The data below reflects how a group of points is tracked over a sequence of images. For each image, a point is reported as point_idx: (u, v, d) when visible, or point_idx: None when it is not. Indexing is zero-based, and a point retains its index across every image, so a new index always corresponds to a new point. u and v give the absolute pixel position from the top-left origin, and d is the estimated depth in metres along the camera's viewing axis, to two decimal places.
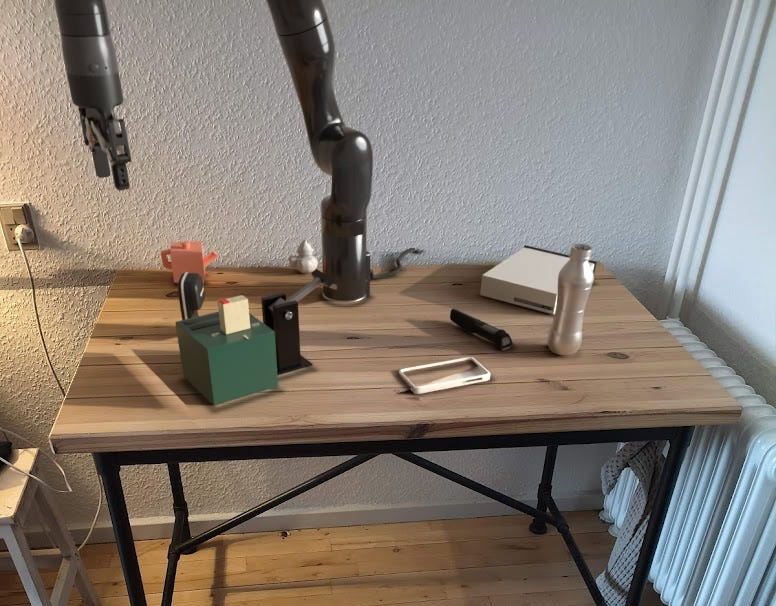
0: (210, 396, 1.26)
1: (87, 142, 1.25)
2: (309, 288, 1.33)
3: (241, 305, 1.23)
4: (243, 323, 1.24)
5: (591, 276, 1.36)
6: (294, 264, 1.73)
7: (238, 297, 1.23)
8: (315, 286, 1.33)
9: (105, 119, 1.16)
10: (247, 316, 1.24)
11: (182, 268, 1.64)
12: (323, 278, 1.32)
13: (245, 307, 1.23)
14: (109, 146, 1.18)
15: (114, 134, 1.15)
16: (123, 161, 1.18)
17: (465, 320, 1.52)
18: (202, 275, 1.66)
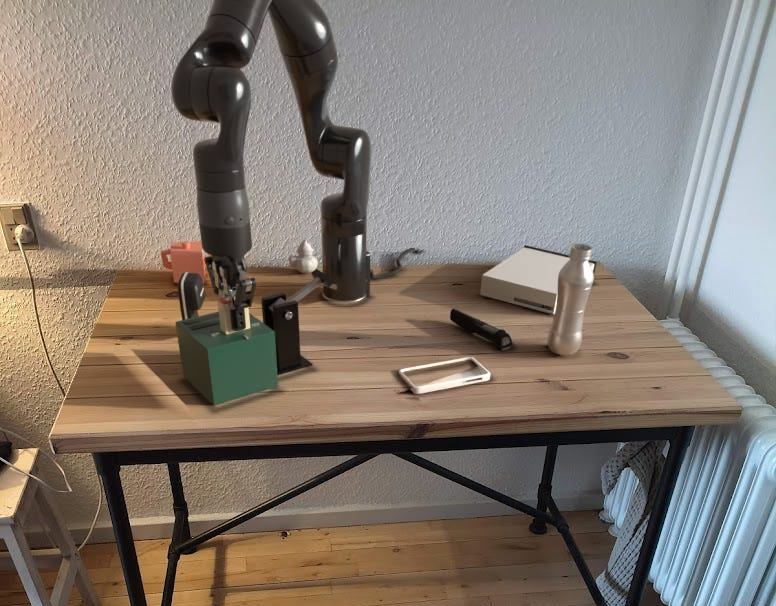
0: (210, 396, 1.26)
1: (217, 291, 1.23)
2: (309, 288, 1.33)
3: None
4: None
5: (591, 276, 1.36)
6: (294, 264, 1.73)
7: None
8: (315, 286, 1.33)
9: (236, 267, 1.15)
10: (247, 316, 1.24)
11: (182, 268, 1.64)
12: (323, 278, 1.32)
13: None
14: (233, 294, 1.19)
15: (244, 292, 1.16)
16: (244, 307, 1.20)
17: (465, 320, 1.52)
18: (202, 275, 1.66)
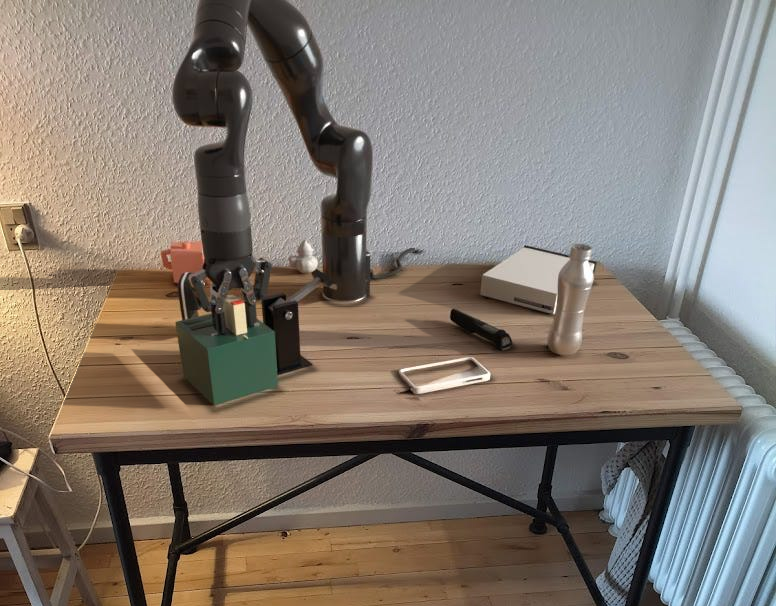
0: (210, 396, 1.26)
1: (210, 307, 1.19)
2: (309, 288, 1.33)
3: None
4: None
5: (591, 276, 1.36)
6: (294, 264, 1.73)
7: None
8: (315, 286, 1.33)
9: (254, 258, 1.20)
10: None
11: (182, 268, 1.64)
12: (323, 278, 1.32)
13: None
14: None
15: None
16: None
17: (465, 320, 1.52)
18: None
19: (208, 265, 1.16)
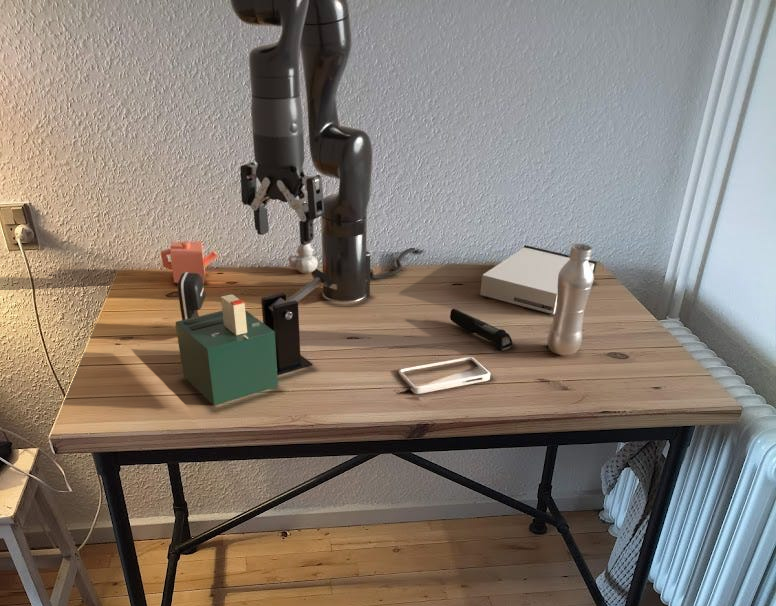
0: (210, 396, 1.26)
1: (247, 201, 1.23)
2: (309, 288, 1.33)
3: None
4: None
5: (591, 276, 1.36)
6: (294, 264, 1.73)
7: (226, 297, 1.23)
8: (315, 286, 1.33)
9: (299, 177, 1.16)
10: None
11: (182, 268, 1.64)
12: (323, 278, 1.32)
13: None
14: (299, 203, 1.18)
15: (315, 191, 1.16)
16: (319, 216, 1.19)
17: (465, 320, 1.52)
18: (202, 275, 1.66)
19: (257, 166, 1.18)
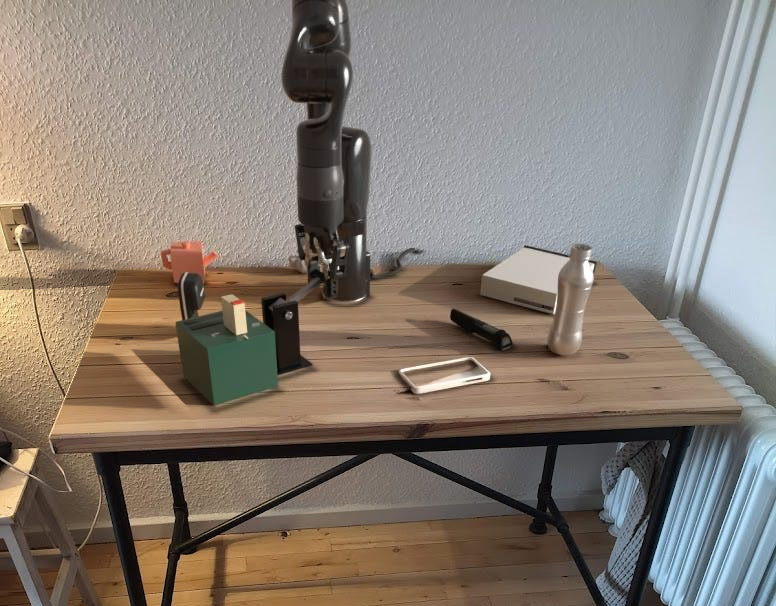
0: (210, 396, 1.26)
1: (302, 257, 1.35)
2: (309, 288, 1.33)
3: None
4: None
5: (591, 276, 1.36)
6: (294, 264, 1.73)
7: (226, 297, 1.23)
8: (315, 286, 1.33)
9: (330, 237, 1.26)
10: None
11: (182, 268, 1.64)
12: (323, 278, 1.32)
13: None
14: (327, 262, 1.29)
15: (338, 257, 1.26)
16: (339, 276, 1.29)
17: (465, 320, 1.52)
18: (202, 275, 1.66)
19: None
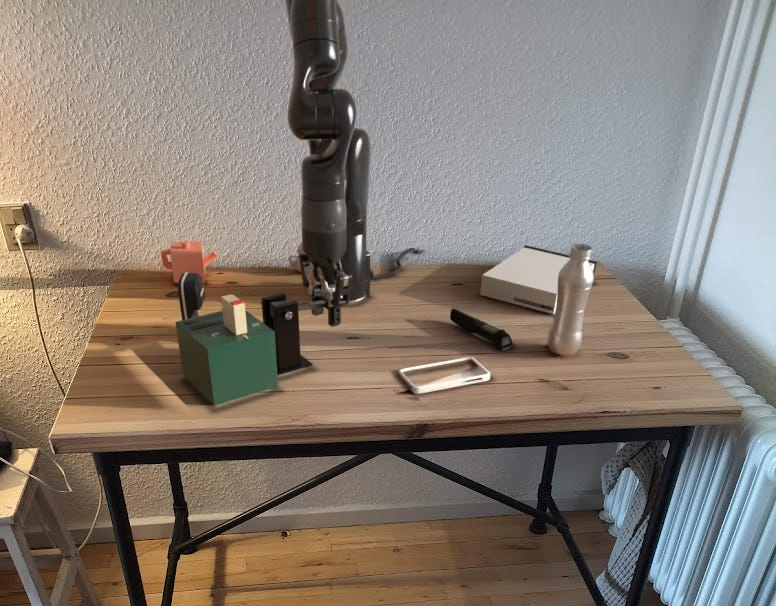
0: (210, 396, 1.26)
1: (306, 285, 1.38)
2: (313, 305, 1.35)
3: None
4: None
5: (591, 276, 1.36)
6: (294, 264, 1.73)
7: (226, 297, 1.23)
8: (318, 306, 1.36)
9: (334, 267, 1.29)
10: None
11: (182, 268, 1.64)
12: None
13: None
14: (331, 291, 1.32)
15: (342, 287, 1.29)
16: (342, 305, 1.32)
17: (465, 320, 1.52)
18: (202, 275, 1.66)
19: None
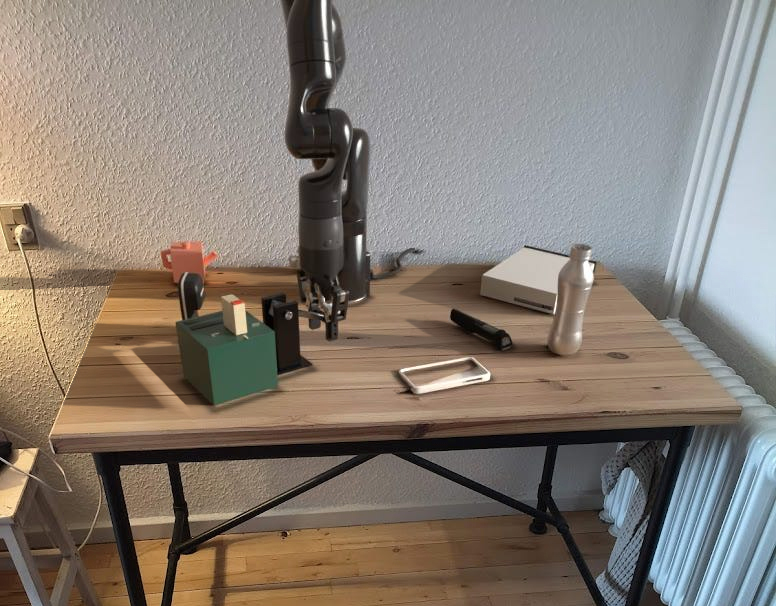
0: (210, 396, 1.26)
1: (303, 300, 1.39)
2: (311, 314, 1.36)
3: None
4: None
5: (591, 276, 1.36)
6: (294, 264, 1.73)
7: (226, 297, 1.23)
8: (316, 317, 1.37)
9: (331, 284, 1.31)
10: None
11: (182, 268, 1.64)
12: None
13: None
14: (328, 307, 1.34)
15: (339, 303, 1.31)
16: (339, 320, 1.34)
17: (465, 320, 1.52)
18: (202, 275, 1.66)
19: None
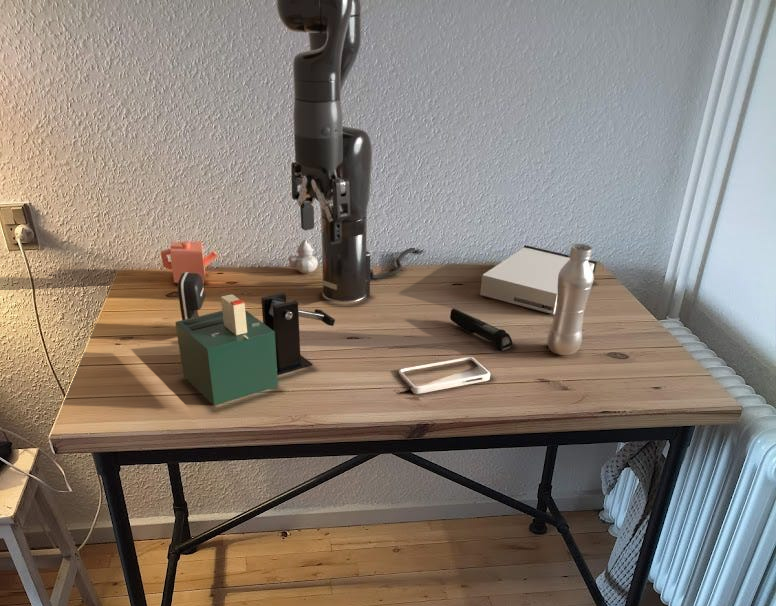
0: (210, 396, 1.26)
1: (295, 196, 1.29)
2: (311, 314, 1.36)
3: None
4: None
5: (591, 276, 1.36)
6: (294, 264, 1.73)
7: (226, 297, 1.23)
8: (316, 317, 1.37)
9: (329, 178, 1.20)
10: None
11: (182, 268, 1.64)
12: (327, 316, 1.37)
13: None
14: (329, 203, 1.22)
15: (339, 193, 1.19)
16: (343, 218, 1.22)
17: (465, 320, 1.52)
18: (202, 275, 1.66)
19: None
